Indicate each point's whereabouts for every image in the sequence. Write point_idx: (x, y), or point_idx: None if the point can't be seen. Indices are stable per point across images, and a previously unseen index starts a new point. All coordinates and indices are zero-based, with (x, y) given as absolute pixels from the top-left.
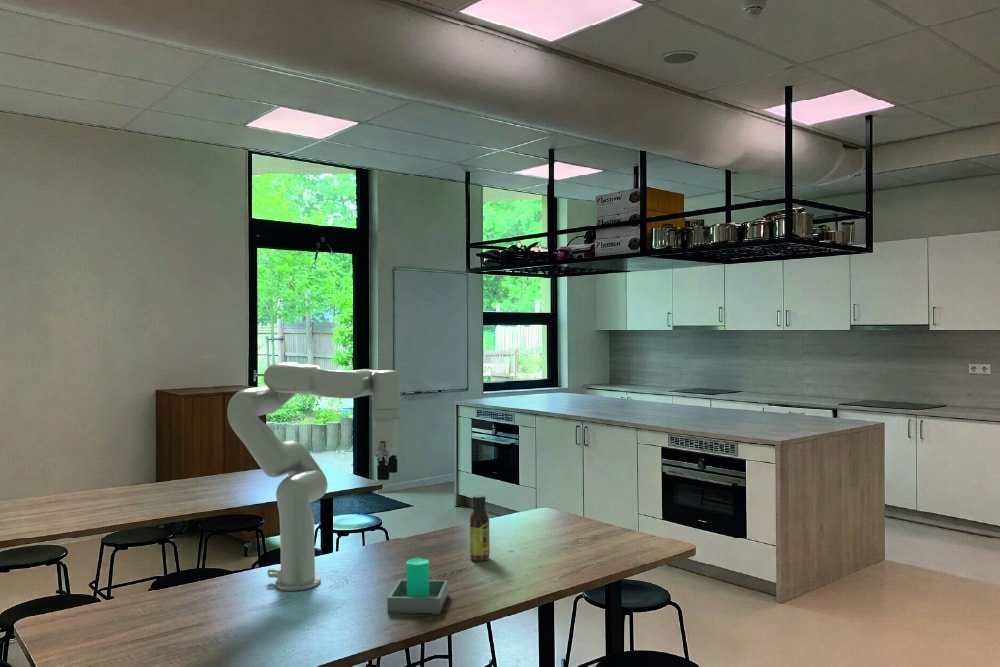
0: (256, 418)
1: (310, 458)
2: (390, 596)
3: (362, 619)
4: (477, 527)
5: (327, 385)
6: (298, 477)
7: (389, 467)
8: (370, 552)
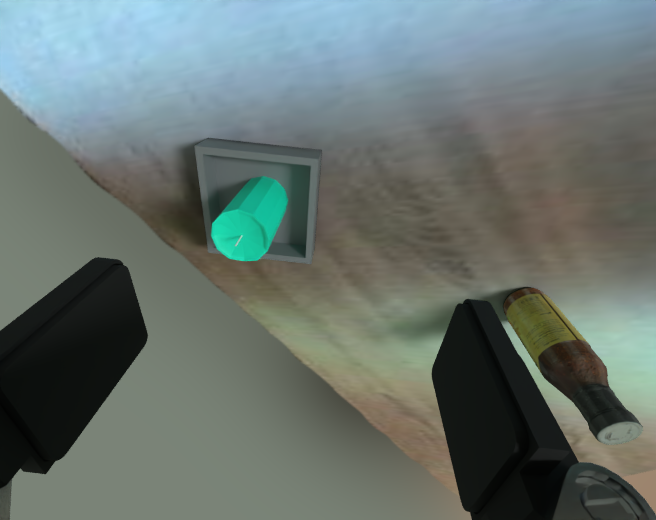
0: None
1: None
2: (202, 152)
3: (165, 82)
4: (541, 355)
5: None
6: None
7: (461, 367)
8: None
